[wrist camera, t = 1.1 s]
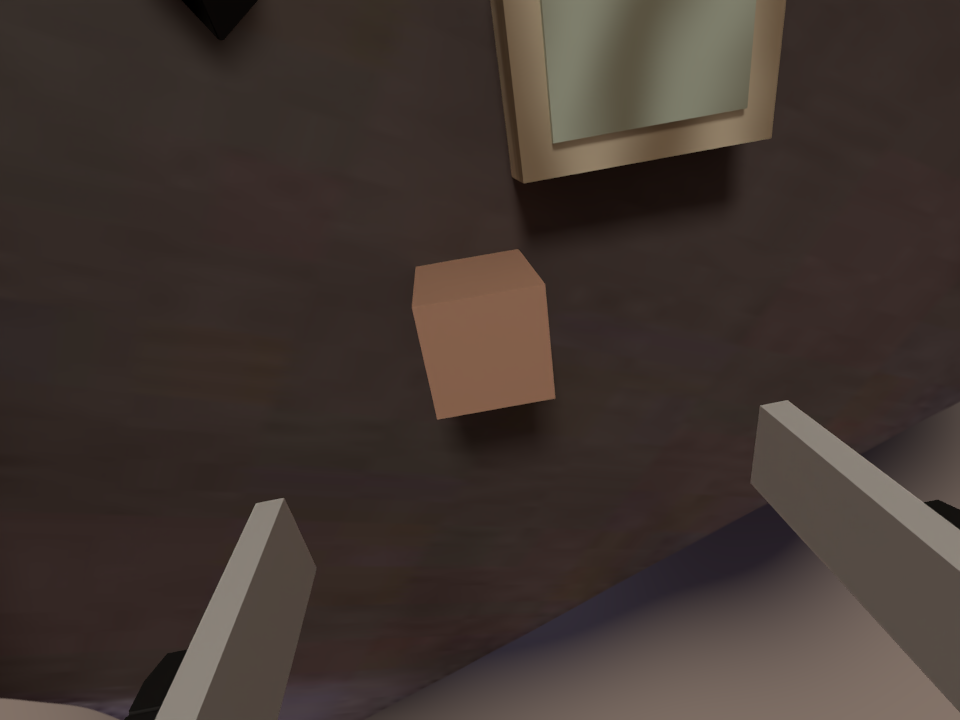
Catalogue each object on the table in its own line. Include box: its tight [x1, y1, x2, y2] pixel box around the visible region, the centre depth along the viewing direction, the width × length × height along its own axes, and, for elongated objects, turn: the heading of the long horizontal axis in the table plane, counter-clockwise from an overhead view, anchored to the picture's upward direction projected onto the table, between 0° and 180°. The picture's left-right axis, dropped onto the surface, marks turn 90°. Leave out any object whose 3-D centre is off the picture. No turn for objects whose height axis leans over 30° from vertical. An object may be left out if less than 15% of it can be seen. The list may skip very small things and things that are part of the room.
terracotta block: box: [412, 249, 555, 420], centre depth 25 cm, size 6×6×7 cm
